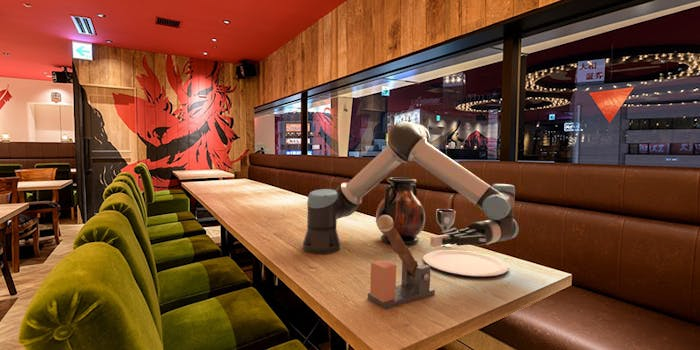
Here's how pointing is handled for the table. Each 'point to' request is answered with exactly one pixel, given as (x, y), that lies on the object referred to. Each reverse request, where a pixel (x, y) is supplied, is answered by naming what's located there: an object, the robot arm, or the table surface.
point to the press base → (409, 288)
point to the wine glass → (445, 220)
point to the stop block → (383, 280)
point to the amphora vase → (402, 209)
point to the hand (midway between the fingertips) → (432, 241)
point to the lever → (397, 242)
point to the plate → (465, 263)
